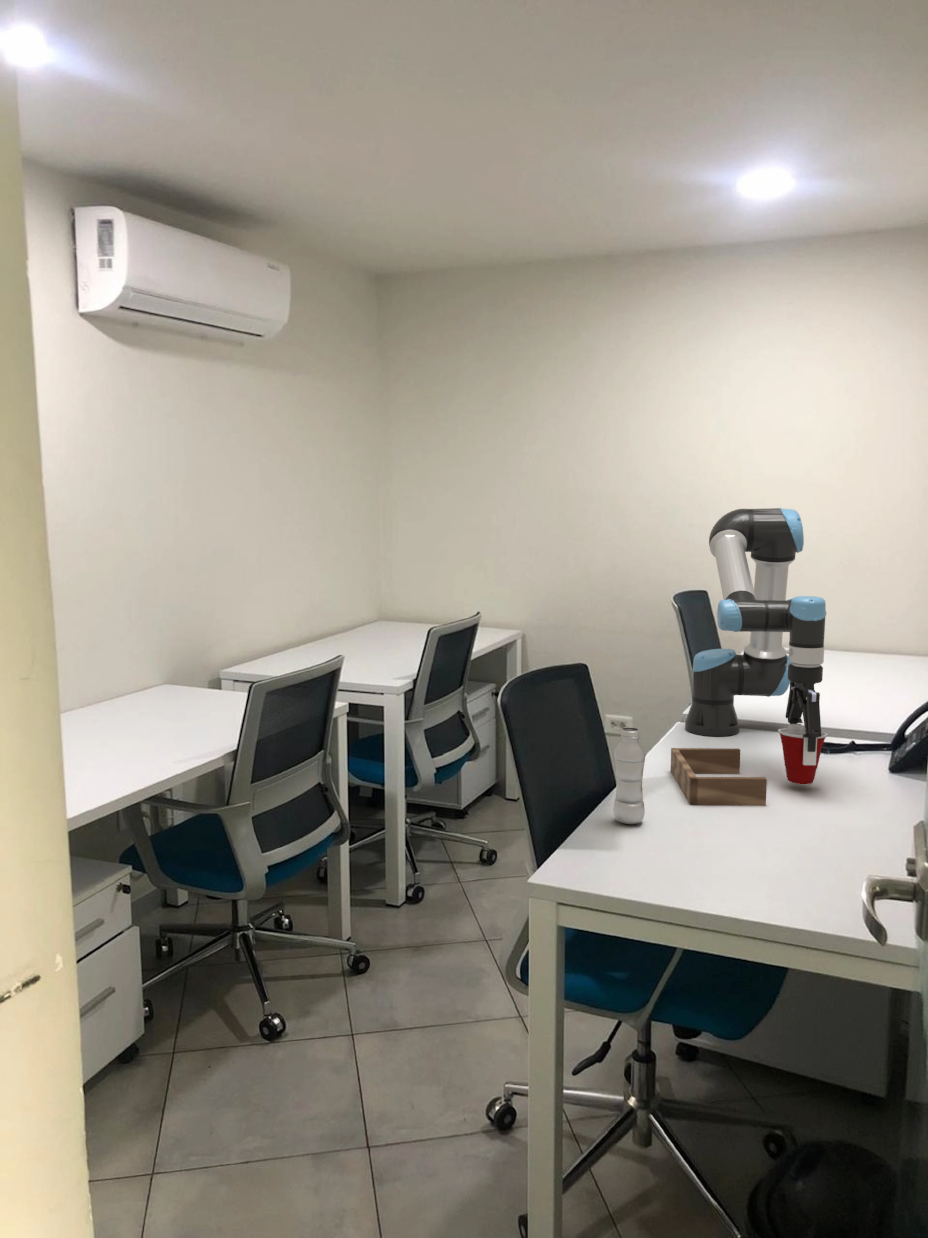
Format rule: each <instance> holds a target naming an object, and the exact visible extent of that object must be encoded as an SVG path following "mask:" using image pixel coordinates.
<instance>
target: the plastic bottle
mask: <svg viewBox="0 0 928 1238" xmlns="http://www.w3.org/2000/svg"><path fill="white" fill-rule="evenodd" d="M620 738H621V739H622V740H621V741H620V742H619V743H618V744H617V746H616V747H615V749H614V753H613V755H614V764H615V775H616V787H615V798H614V802H613V809H612V810H613V816H614V818H615V820H616V821H617V822H618V823H621V824H625V825H637V824H640V823H642V821H643V820H644V819H645V813H646V810H645V809H646V808H645V802H644V796H643V795H644V794H643V793H644V792H643V779H644V777H643V775H644V770H645V769H644V768H645V762H646V752H645V749H644V746H642V744H641V742H639V739H641V737H640V729H639V728H637V727H632V726H627V727H622V728H621V733H620Z"/></svg>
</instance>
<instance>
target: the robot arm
mask: <svg viewBox="0 0 928 1238" xmlns="http://www.w3.org/2000/svg"><path fill="white" fill-rule="evenodd" d="M804 536H805V535H804V528H803V522H802V519H801V515H800V513H799V512H798V511H797V510H795V509H791V508H781V507H780V508H778V507H777V508H738V509H734V510H731V511H729V512H727V513H725V514H724V515H723V516H721V517H720V518H719V519H718V520H717V521H716V523H715V524H714V526H713V527H712V529H711V531H710V533H709V536H708V545H709V551H710V553H711V554H712V556H713V557H714V558H715V562H716V567H717V571H718V577H719V578H718V579H719V582H720V588H721V593H722V600H719V602H718V604H717V612H716V615H717V616H716V617H717V626H718V628H719V630H721V631H726V632H727V631H729V632H734V633H741V632H742V633H743V632H750V636H749V637H750V638H749V639H750V640H749V643H747V645H745V646H744V648H743V654H737V653H736V650H735V649H732V648H715V649H714V648H713V649H707V650H702V651H700V652H697V653H696V654H695V655H694V656H693V663H692V688H691V689H692V692H691V695H692V696H691V697H692V698H691V705H690V708H689V710H688V713H687V716H686V718H685V724H684V725H685V726H684V730H685V731H687V732H689V733H692V734H696V735H701V736H708V737H729V736H734V735H737V734H738V733H739V732H740V722H739V719H738V715H737V712H736V708H735V705H734V703H735V701H734V700H735V699H734V698H735V696H752V697H753V696H754V697H758V696H759V697H767V698H769V697H778V696H779V697H780V696H783V695H784V694H785V693H786V692H787V691H788V690H789V693H788V698H787V704H786V711H785V719H787V723H788V725H787V726H788V727H787V728H802V724H804V729H805V733H806V734H804V735H803V738H804V747H803V765H816V753H817V738H818V737H821V731H822V726H821V725H822V723H821V710H820V707H821V706H820V700H821V699H820V697H821V693H820V692H818V691H817V692H816V690H815V685H816V684H820V683H822V681H823V676H824V674H823V672H824V671H823V670H824V667H823V666H822V664H824V659H825V658H824V657H825V631H826V630H825V628H826V627H825V626H826V616H827V610H826V600H825V599H824V598H823V597H821V596H816V595H815V596H813V595H800V596H799V595H798V596H797V595H796V596H794V597H792V598H790V599H787V588H788V577H789V565H790V564H792V563H793V562H795V560H796V554H798V553H801V552H803V548H804V543H805V541H804V538H805V537H804ZM746 553H750V558H751V559H752V561H753V562H754V563H755V568H754V569H755V571H754V572H755V573H754V583H753V581H752V576H751V572H750V568H749V564H748V559H747V554H746ZM753 584H754V585H753ZM784 633H789V642H788V645H789V646H788V649H785V648H784V647H783V646H782V644H783V636H784V635H783V634H784ZM788 688H789V689H788ZM802 717H803V718H802Z"/></svg>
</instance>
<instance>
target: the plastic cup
mask: <svg viewBox="0 0 928 1238" xmlns="http://www.w3.org/2000/svg"><path fill="white" fill-rule="evenodd" d="M777 731H778V734H779V736H780V739H781V740H780V741H781V745H782V751H783V752H782V753H783V760H784V761H783V762H784V767H785V774H786V779H787V781H788V782H790V783H792V784H795V785H811V784H813V783H814V781H815V777H816V773H817V770H818V766H819V762H820V758H821V757H820V756H821V753H822V748H823V746H824V743H825V740H826V738H827V737H828V733H827V732H825V731H822V730H821V737H818V738H817V753H816V765H803V747H804V738H803V735H804V734H806V733H805V727H804V728H803V727H801V728H788V727H784V728H778V729H777Z"/></svg>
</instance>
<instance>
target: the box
mask: <svg viewBox="0 0 928 1238" xmlns="http://www.w3.org/2000/svg"><path fill="white" fill-rule="evenodd" d="M740 770H741V749H740V748H722V747H721V748H716V747H715V748H714V747H712V748H711V747H710V748H709V747H707V748H706V747H705V748H703V747H699V748H698V747H697V748H694V747H693V748H692V747H688V748H687V747H684V748H683V747H671V748H670V773H671V775H672V774H673V775H672V776H674V777H673V779H675V782H676V783H677V785H678V787H679V788H680V790H681V792H682V794H683V795H684V797H685V799H686V800H687V802H688V804H689V805H690V806H755V807H756V806H757V807H759V806H760V807H761V806H762V807H764V806H766V807H767V785H768V784H767V783H768V779H767V777H766V776H762V777H761V776H697V775H701V774H702V775H705V774H706V775H740V773H741V771H740Z"/></svg>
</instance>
